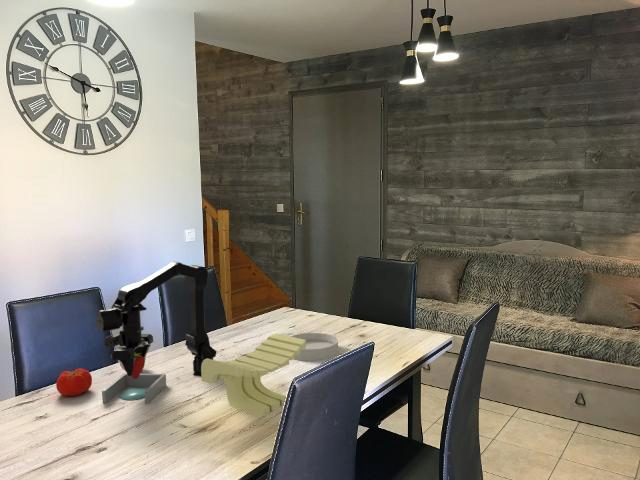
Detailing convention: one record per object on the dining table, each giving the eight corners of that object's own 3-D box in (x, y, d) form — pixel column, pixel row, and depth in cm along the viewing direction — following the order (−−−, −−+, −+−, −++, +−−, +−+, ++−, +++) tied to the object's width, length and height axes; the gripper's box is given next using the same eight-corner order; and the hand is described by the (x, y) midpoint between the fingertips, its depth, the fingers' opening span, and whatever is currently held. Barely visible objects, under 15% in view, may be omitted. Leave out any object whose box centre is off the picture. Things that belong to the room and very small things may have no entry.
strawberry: (120, 381, 169) (117, 352, 167) (137, 373, 175) (135, 345, 174) (133, 384, 166) (131, 354, 165) (150, 376, 173) (148, 347, 171)
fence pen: (166, 385, 178) (165, 374, 177) (148, 403, 163) (147, 391, 162) (124, 384, 179) (123, 373, 179) (102, 403, 164) (101, 391, 164)
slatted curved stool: (271, 381, 179) (269, 332, 177) (306, 392, 169) (305, 339, 167) (203, 413, 155) (200, 356, 153) (240, 428, 146) (238, 367, 144)
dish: (340, 344, 220) (340, 333, 219) (336, 362, 198) (336, 349, 197) (288, 343, 222) (288, 332, 221) (279, 361, 200) (279, 349, 199)
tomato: (54, 401, 166) (52, 379, 165) (61, 388, 177) (59, 367, 176) (90, 397, 169) (88, 375, 168) (95, 385, 180) (93, 364, 179)
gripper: (121, 317, 178) (124, 361, 180) (93, 333, 160) (96, 382, 162) (152, 317, 177) (155, 361, 179) (127, 334, 159) (131, 382, 161)
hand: (134, 371), depth 170 cm, fingers closed on strawberry, 7 cm apart
